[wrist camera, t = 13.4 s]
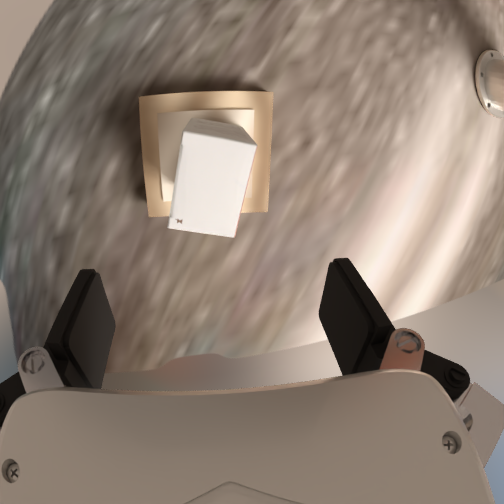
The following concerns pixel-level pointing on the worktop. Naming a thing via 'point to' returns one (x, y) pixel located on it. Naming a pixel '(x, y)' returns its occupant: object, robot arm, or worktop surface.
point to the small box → (211, 177)
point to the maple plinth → (209, 108)
